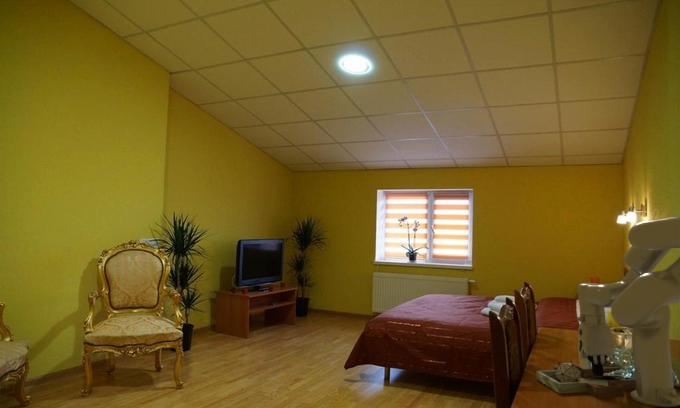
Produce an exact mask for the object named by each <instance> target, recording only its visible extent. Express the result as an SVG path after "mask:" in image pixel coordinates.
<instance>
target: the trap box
mask: <svg viewBox="0 0 680 408" xmlns="http://www.w3.org/2000/svg"><path fill="white" fill-rule="evenodd" d="M572 364H573V363H572ZM558 365H559V364H558ZM558 365H553V369H552V370H551V369H550V370H536V371H535V373H536V374H535V376H536V380H537V381H538V380H539V381H540V382H539V381H538V382H539V383H541V382H542V383H541V384H542V385H544V384H545V386H546V387H548V388H549V389H551V390H552V391H554V392H556V393H558V394H560V395H561V394H574V393H578V394H579V393H588V394H589V395H591V396H593V397H595V398H599V399H600V398H601V399H602V398H604V399H605V398H620V397H622V398H623V397H625V392H624V391H627V390H629V391H630V390H631V391H633V390H636V383H635V378H624V379H623V378H621V379H608V380H607V386H597V385H595V384H594V383H591V382H589V381H586V380H584V381H579V382H566V383H562V382H561V381H560V380H559V379H558V378H557V377H556V376H555V377H554V376H553V375H555V374H556V371H557V368H558ZM573 365H574V366H575V367H577V368H578V369H579V370H580V371H581V372H584V373H581V376H580V378H584V379H594V378H595V377H598V378H600V377H599V376H596V375H594V374H593V372H592V367H591V368H589V367H588V368H585V367H583V366H581V365H578V364H575V363H574V364H573ZM620 368H621V367H619V366H608V367H607V366H605V367H603V374H604V373H609V372H612V371H616V370H620V371H621V369H620ZM595 379H596V378H595ZM559 381H560V382H559Z"/></svg>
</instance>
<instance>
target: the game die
mask: <svg viewBox="0 0 680 408" xmlns="http://www.w3.org/2000/svg"><path fill="white" fill-rule="evenodd" d="M572 362H573V361H572V359H571V360H570V362H560V361H557V364H558V368H557V371H556V374H555V375H553V376H554V377H555V376H556V377H557V378H558V379H559V380H558V381H560V383H566V382H580V379H581V377H580V376H581V373H584V372H581V371H580V370H579V369H578V368H577V367H575V366H574V365H573V363H572Z"/></svg>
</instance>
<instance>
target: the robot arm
mask: <svg viewBox="0 0 680 408" xmlns="http://www.w3.org/2000/svg"><path fill="white" fill-rule="evenodd" d="M627 239H628V242H629V244H630V247H629V248H628V250H627V251H626V252H625V254H624V255H623V258H622V259H623V262H624V263H625V265H626V266H627V267H628V268H629V270H628V272H627V273H626V274H625V276H624V277H623V278H622V280H621V281H619V282H613V283H603V284H602V283H601V284H600V283H596V282H584V283H583V282H581V283H579V284H578V286H577V294H578V304H579V316H578V317H577V321H578V322H580V323H579V325H578V333H577V334H578V335H577V337H578V338H577V340H578V341H577V343H578V350H579V352H580V355H579V356H580V358H582V359H584V360H585V359H586V360H588V361H589V363H591V365H590V366H591V368H592V372H593V374H594V375H596V376H603V368H604V364H605V362H604V361H605V360H606V358H608V359H609V358H610V357H613V354H614V353H615V347H614V340H613V334H612V330H611V328H610V325H609V323H607V321H606V320H607V319H606V309H605V308H610V314H611V317H612V319H613V321H615V323H616V324H617V325H619V326H620V327H623V328H627V329H632V334H631V343H632V344H631V347H632V358H633V368H634V369H633V370H634V379H635V383H636V389H634V390H631V392H630V398H631V399H632V400H634V401H635V402H638V403H640V404H644V405H647V406H652V407H660V408H661V407H662V408H673V407H679V406H680V395H677V390H676V388H674V379H673V367H672V356H671V343H670V323H671V309H670V306H669V305H673V304H674V305H675V304H680V256H679V257H678V258H677V259H676V260H675V261H674V262H673V263H672V264H670V265H668V266H667V268H665V269H662V270H656V271H653V270H654V269H655V268H656V267H657V266H658V264H659V263H660V262H661V261H662V260H663V259H664V257H666V255H667V254H668V253H669V252H670V251H671V250H672V249H680V215H679V216H677V215H676V216H672V217H665V218H659V219H650V220H645V221H644V220H643V221H639V222H637V223H635V224H634V225H632V226H631V228H629V230H628V235H627Z"/></svg>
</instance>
